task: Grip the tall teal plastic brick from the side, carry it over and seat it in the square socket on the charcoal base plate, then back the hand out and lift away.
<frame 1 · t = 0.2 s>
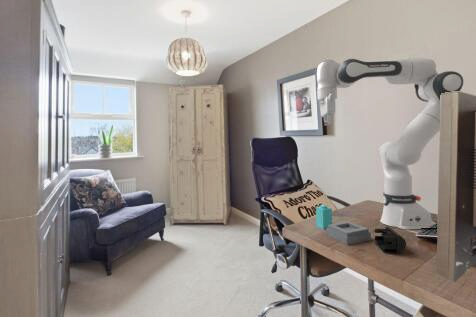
hand: (328, 124, 125), 48 cm above the table, tool pointing down, fingers open, 8 cm apart
base plate: (347, 237, 108), on the table
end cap: (389, 249, 96), on the table
teal brick: (324, 226, 122), on the table
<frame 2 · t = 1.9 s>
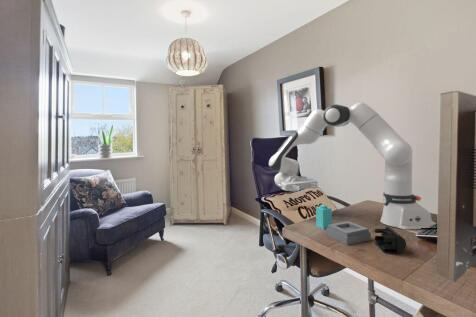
hand: (307, 187, 132), 17 cm above the table, tool horizontal, fingers open, 8 cm apart
nothing on the table moved.
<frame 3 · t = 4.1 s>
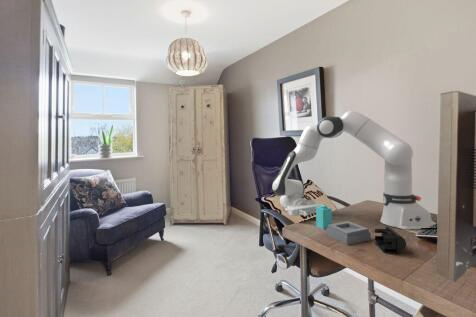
hand: (315, 212, 128), 5 cm above the table, tool horizontal, fingers open, 8 cm apart
nothing on the table moved.
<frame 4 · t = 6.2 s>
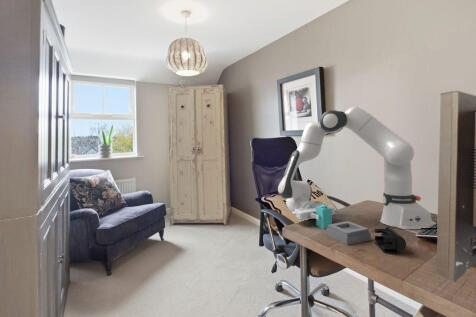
hand: (325, 216, 121), 5 cm above the table, tool horizontal, fingers closed on teal brick, 5 cm apart
teal brick: (324, 226, 122), on the table, touching gripper
everything else where it was.
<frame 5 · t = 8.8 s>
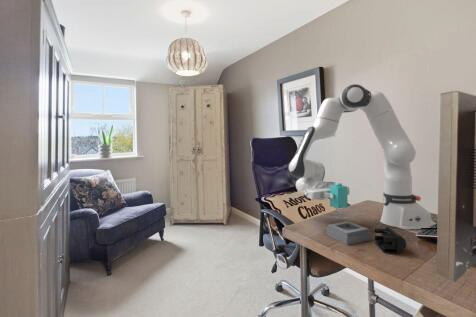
hand: (340, 195, 111), 17 cm above the table, tool horizontal, fingers closed on teal brick, 5 cm apart
teal brick: (338, 206, 112), point 12 cm above the table, touching gripper
everything else where it was.
when the fingers open (9 cm above the table, at t = 11.6 s): teal brick stays where it is, resting on base plate.
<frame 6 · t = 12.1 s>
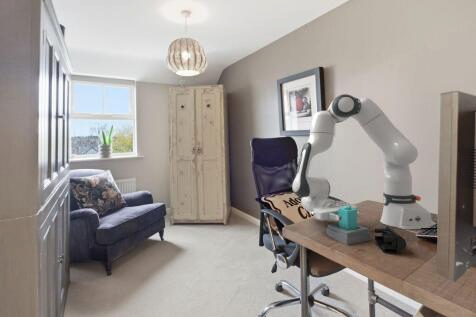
hand: (349, 216, 107), 9 cm above the table, tool horizontal, fingers open, 8 cm apart
teal brick: (347, 230, 108), point 3 cm above the table, touching base plate
everything else where it was.
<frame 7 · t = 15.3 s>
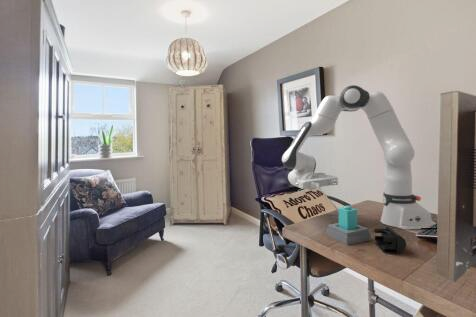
hand: (328, 184, 118), 20 cm above the table, tool horizontal, fingers open, 8 cm apart
nothing on the table moved.
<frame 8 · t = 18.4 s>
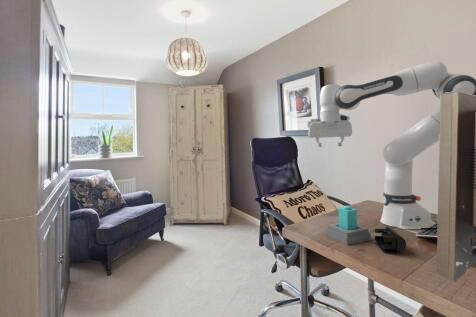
hand: (329, 146, 128), 37 cm above the table, tool pointing down, fingers open, 8 cm apart
nothing on the table moved.
at the end: teal brick 0.0 cm off-centre on the base plate, point 3.0 cm above the base plate's base; teal brick tilted 0°; the gripper is holding nothing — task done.
